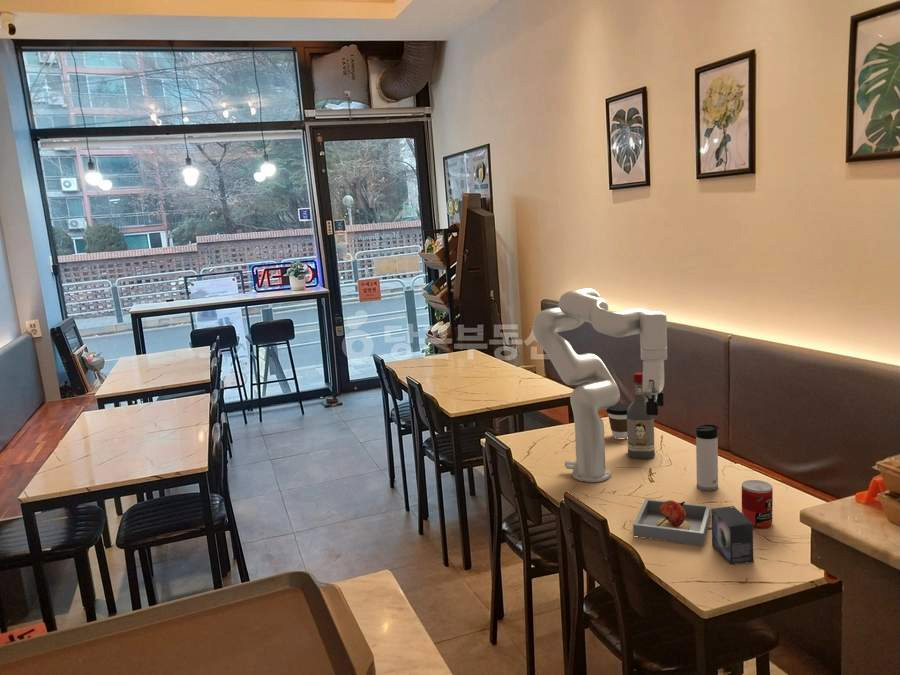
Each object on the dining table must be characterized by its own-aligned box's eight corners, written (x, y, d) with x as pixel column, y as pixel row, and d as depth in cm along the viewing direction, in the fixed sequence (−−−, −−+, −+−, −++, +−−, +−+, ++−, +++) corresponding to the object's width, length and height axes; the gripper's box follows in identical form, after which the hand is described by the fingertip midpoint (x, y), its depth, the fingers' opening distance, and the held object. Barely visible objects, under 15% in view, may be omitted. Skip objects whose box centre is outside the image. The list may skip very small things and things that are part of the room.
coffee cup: (608, 441, 267) (606, 411, 265) (606, 432, 277) (605, 403, 275) (637, 441, 265) (636, 410, 263) (634, 432, 275) (633, 402, 273)
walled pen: (633, 536, 190) (633, 524, 189) (645, 509, 205) (645, 498, 205) (703, 545, 182) (703, 533, 181) (710, 517, 198) (710, 505, 197)
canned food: (759, 531, 187) (759, 493, 185) (735, 521, 194) (735, 484, 192) (779, 524, 190) (779, 486, 189) (754, 514, 197) (754, 477, 196)
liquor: (628, 450, 256) (626, 370, 251) (654, 450, 253) (652, 370, 248) (628, 458, 247) (625, 376, 242) (654, 459, 245) (652, 376, 240)
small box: (709, 545, 182) (709, 507, 180) (734, 542, 182) (733, 505, 180) (729, 565, 171) (728, 525, 170) (754, 562, 172) (754, 522, 170)
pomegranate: (668, 539, 190) (697, 517, 188) (650, 519, 190) (679, 496, 188) (663, 530, 197) (691, 508, 196) (646, 510, 197) (674, 488, 196)
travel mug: (720, 491, 215) (720, 428, 211) (698, 491, 216) (697, 429, 212) (717, 483, 221) (716, 422, 217) (695, 483, 222) (694, 422, 218)
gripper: (646, 347, 213) (647, 401, 216) (634, 359, 198) (636, 417, 201) (671, 348, 210) (672, 402, 213) (662, 360, 195) (663, 419, 197)
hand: (655, 410), depth 207 cm, fingers open, 9 cm apart
